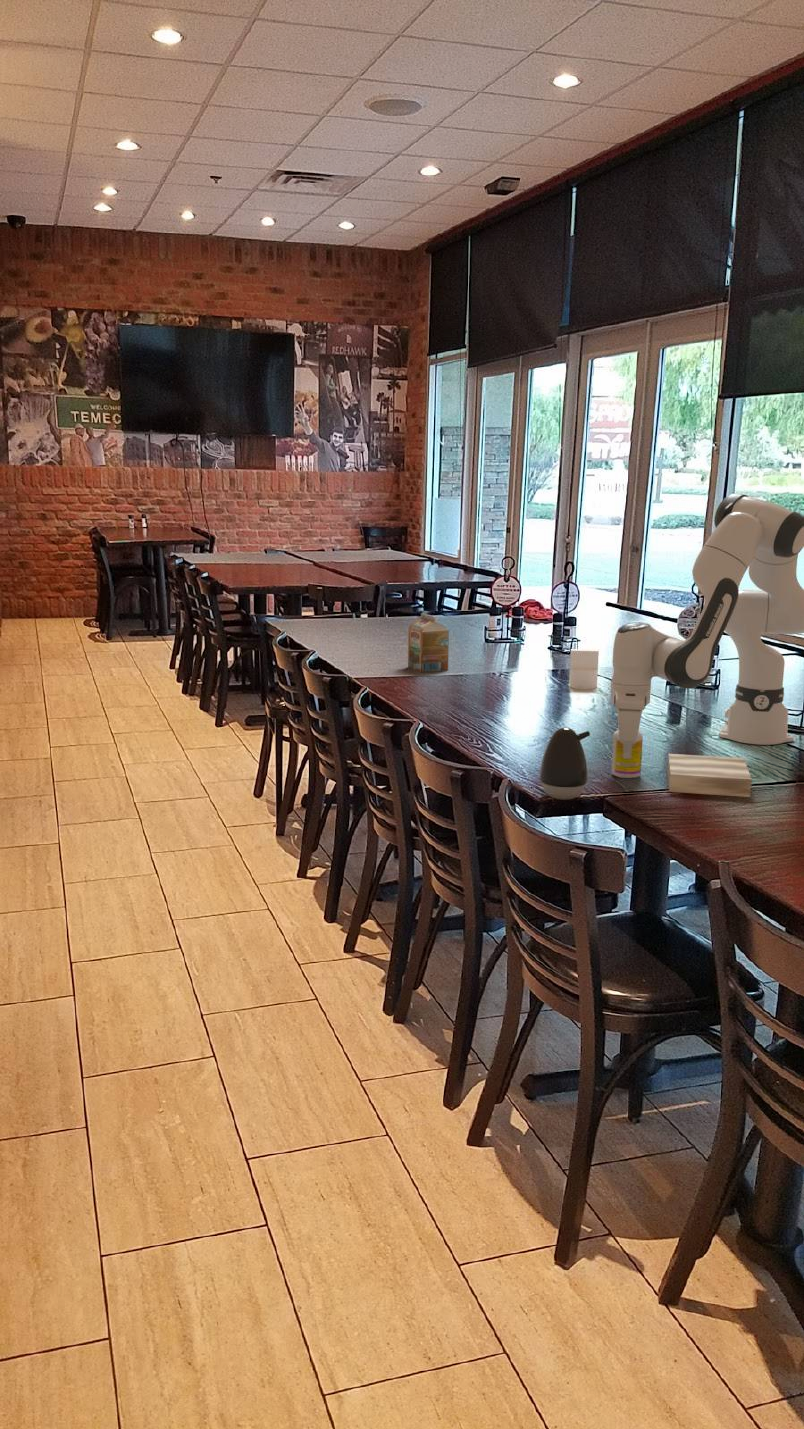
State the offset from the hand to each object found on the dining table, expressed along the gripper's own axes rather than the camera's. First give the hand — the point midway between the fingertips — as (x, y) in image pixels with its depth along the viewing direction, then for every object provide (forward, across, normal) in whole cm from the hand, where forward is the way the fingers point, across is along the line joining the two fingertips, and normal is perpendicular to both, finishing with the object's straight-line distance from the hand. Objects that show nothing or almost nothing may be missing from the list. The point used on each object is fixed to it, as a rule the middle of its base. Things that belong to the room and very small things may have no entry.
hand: (627, 753), depth 250 cm
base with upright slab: (+6, -105, -15) cm, 106 cm away
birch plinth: (+5, +2, +18) cm, 19 cm away
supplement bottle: (+5, 0, 0) cm, 5 cm away
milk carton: (+6, -124, -70) cm, 142 cm away
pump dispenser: (+5, +20, -13) cm, 25 cm away
